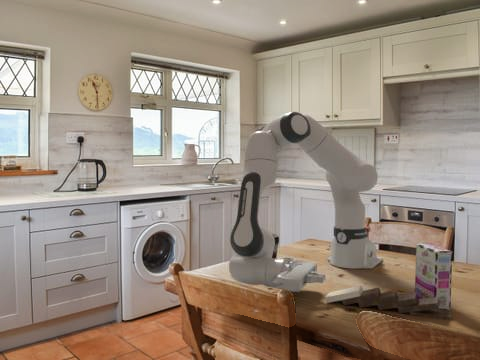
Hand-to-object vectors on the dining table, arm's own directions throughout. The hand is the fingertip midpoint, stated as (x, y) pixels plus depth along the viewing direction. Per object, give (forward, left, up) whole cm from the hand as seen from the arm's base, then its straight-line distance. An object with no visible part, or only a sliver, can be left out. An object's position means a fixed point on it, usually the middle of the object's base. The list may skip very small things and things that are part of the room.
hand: (324, 278), depth 132 cm
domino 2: (-3, +10, -6) cm, 12 cm away
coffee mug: (-25, -41, -6) cm, 48 cm away
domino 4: (-7, +20, -5) cm, 22 cm away
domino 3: (-5, +15, -5) cm, 17 cm away
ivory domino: (0, +1, -5) cm, 6 cm away
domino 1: (-2, +6, -5) cm, 8 cm away
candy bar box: (-18, +24, -6) cm, 31 cm away
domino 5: (-8, +22, -6) cm, 24 cm away
